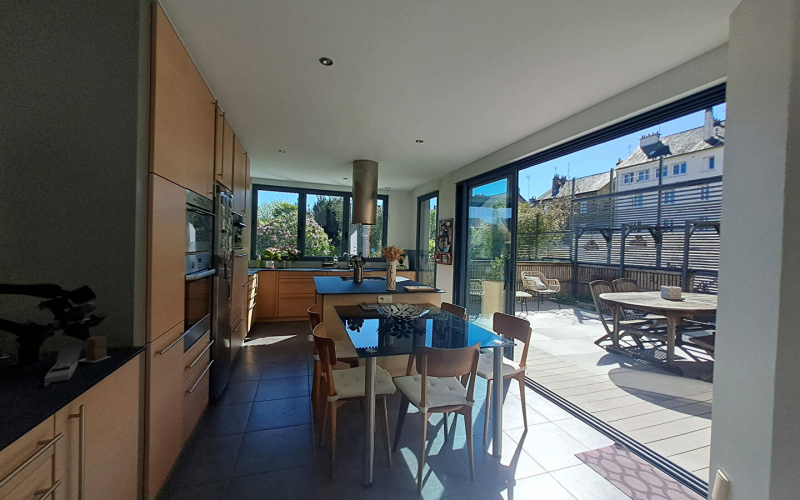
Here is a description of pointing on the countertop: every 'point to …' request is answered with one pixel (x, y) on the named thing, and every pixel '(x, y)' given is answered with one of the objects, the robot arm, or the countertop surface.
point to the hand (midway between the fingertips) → (88, 340)
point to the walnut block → (95, 348)
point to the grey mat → (93, 360)
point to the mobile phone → (63, 365)
